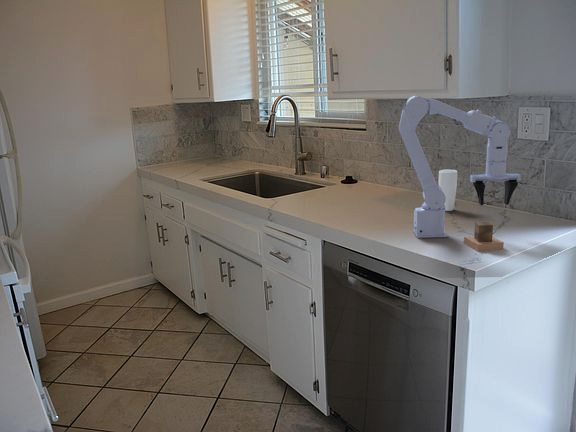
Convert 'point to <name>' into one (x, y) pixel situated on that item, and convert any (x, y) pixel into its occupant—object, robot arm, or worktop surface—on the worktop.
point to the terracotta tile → (483, 244)
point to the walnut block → (483, 231)
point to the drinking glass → (448, 187)
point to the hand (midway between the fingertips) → (493, 204)
